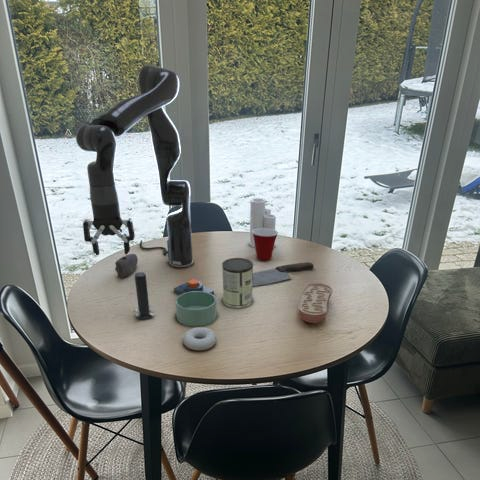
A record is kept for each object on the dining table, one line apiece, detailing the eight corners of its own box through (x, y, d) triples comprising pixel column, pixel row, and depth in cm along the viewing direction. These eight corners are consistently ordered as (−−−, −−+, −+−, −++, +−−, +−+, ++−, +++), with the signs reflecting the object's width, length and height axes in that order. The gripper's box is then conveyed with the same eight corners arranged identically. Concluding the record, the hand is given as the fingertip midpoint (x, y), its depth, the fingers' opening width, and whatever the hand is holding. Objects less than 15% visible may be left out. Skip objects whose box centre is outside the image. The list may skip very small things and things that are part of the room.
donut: (215, 334, 145) (183, 334, 144) (215, 324, 143) (182, 325, 142) (217, 352, 136) (182, 353, 136) (217, 342, 135) (182, 343, 134)
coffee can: (228, 292, 169) (228, 255, 162) (256, 297, 166) (257, 259, 159) (218, 305, 161) (217, 267, 154) (246, 310, 158) (247, 271, 151)
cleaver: (307, 264, 191) (307, 259, 190) (320, 273, 184) (321, 268, 183) (241, 278, 180) (241, 273, 179) (253, 288, 173) (253, 283, 172)
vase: (248, 246, 208) (248, 201, 198) (251, 240, 214) (252, 197, 204) (273, 248, 206) (275, 203, 196) (276, 243, 212) (278, 198, 202)
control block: (174, 292, 169) (173, 283, 168) (192, 284, 175) (191, 276, 173) (195, 303, 162) (195, 294, 160) (214, 295, 167) (213, 286, 166)
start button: (186, 285, 167) (186, 281, 166) (194, 282, 169) (193, 278, 168) (192, 289, 165) (192, 284, 164) (200, 285, 167) (200, 281, 166)
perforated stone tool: (131, 264, 191) (129, 247, 187) (143, 265, 190) (141, 249, 186) (112, 279, 178) (110, 262, 175) (125, 281, 177) (123, 263, 174)
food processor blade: (127, 319, 152) (121, 277, 145) (141, 308, 159) (136, 267, 151) (148, 324, 150) (143, 281, 142) (161, 313, 156) (158, 271, 148)
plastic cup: (280, 256, 199) (282, 228, 193) (271, 265, 191) (272, 237, 185) (257, 251, 203) (258, 224, 197) (247, 260, 194) (247, 232, 188)
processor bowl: (168, 316, 154) (167, 299, 151) (198, 303, 162) (197, 287, 159) (194, 330, 146) (193, 314, 143) (224, 316, 154) (224, 300, 151)
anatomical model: (324, 330, 147) (325, 316, 145) (292, 325, 149) (293, 311, 147) (332, 297, 166) (333, 285, 164) (304, 294, 168) (305, 281, 166)
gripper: (131, 196, 138) (137, 248, 146) (81, 197, 136) (90, 250, 144) (128, 203, 131) (134, 257, 139) (76, 204, 130) (85, 259, 138)
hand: (112, 253), depth 142 cm, fingers open, 8 cm apart
